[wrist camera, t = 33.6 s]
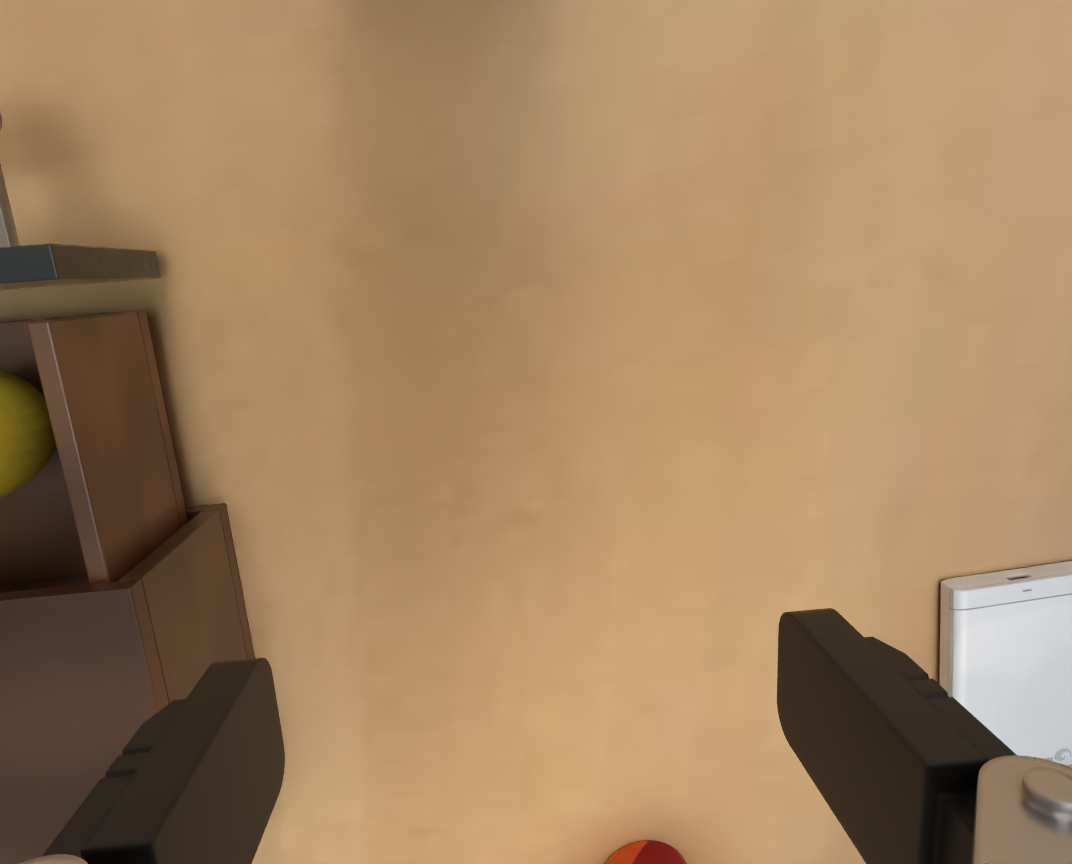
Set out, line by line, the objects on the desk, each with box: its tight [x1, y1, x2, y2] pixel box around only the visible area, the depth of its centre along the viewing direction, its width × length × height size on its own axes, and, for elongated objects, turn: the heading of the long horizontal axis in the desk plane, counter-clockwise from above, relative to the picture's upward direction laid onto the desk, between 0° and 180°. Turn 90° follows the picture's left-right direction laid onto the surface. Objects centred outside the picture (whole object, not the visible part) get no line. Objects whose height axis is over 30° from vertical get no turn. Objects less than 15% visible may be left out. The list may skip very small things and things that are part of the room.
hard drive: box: [940, 561, 1072, 765], centre depth 40 cm, size 2×8×12 cm
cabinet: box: [0, 504, 255, 864], centre depth 32 cm, size 17×15×10 cm
